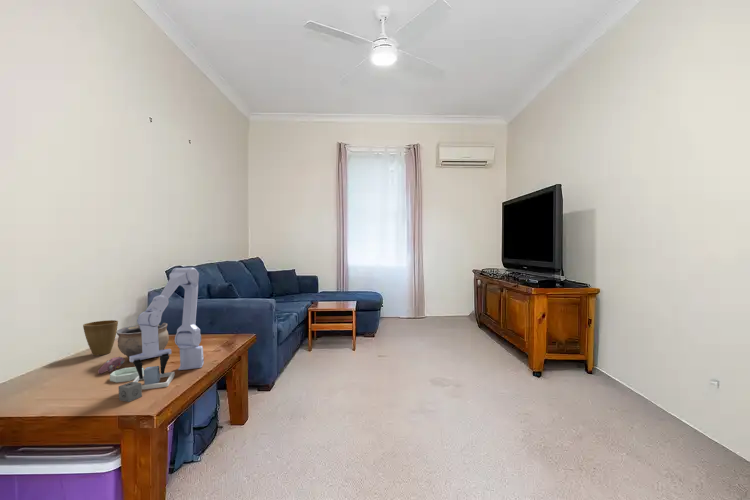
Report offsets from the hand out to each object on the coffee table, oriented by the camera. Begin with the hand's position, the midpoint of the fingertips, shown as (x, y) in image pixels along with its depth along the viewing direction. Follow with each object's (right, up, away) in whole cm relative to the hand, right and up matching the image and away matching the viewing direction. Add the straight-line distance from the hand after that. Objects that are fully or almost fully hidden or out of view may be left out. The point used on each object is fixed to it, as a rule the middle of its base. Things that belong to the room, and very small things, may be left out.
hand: (151, 375), depth 160 cm
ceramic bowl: (-24, -3, +38) cm, 45 cm away
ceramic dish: (-15, -3, +8) cm, 17 cm away
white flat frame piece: (0, -3, 0) cm, 3 cm away
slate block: (0, -3, 0) cm, 3 cm away
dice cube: (+1, -4, -15) cm, 16 cm away
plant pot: (-52, -4, +48) cm, 70 cm away
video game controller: (-28, -4, +18) cm, 33 cm away
